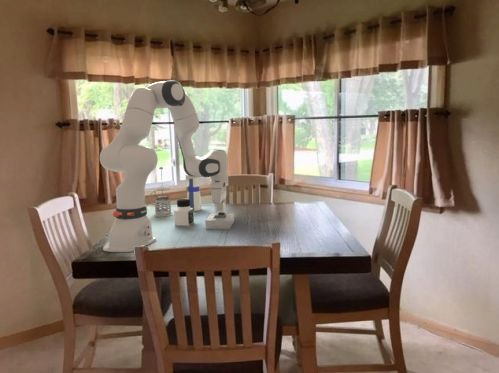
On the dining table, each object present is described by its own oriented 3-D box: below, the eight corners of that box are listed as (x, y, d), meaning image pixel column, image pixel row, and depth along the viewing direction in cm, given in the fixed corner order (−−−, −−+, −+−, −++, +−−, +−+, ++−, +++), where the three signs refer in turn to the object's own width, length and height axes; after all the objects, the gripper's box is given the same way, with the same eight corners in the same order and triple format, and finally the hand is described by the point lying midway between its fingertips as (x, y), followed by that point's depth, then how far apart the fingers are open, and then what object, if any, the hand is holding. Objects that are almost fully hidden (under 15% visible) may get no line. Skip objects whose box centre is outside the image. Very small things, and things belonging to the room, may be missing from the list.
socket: (229, 229, 184) (229, 218, 183) (205, 229, 185) (205, 218, 184) (234, 221, 197) (233, 211, 197) (211, 221, 198) (211, 211, 198)
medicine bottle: (189, 226, 191) (188, 200, 189) (174, 225, 192) (173, 200, 190) (194, 222, 197) (193, 197, 196) (180, 221, 199) (178, 197, 197)
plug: (223, 218, 204) (223, 200, 202) (215, 218, 204) (215, 200, 203) (225, 216, 208) (224, 199, 206) (217, 216, 208) (216, 199, 207)
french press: (170, 216, 210) (168, 167, 206) (148, 216, 210) (145, 168, 206) (174, 212, 220) (172, 165, 216) (153, 212, 220) (150, 166, 216)
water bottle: (183, 210, 224) (181, 164, 220) (190, 207, 232) (188, 163, 228) (197, 211, 221) (195, 164, 217) (203, 208, 229) (202, 163, 225)
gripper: (216, 179, 214) (217, 205, 216) (209, 185, 194) (210, 214, 196) (228, 179, 213) (229, 205, 215) (222, 185, 193) (223, 214, 195)
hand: (220, 209), depth 205 cm, fingers closed on plug, 4 cm apart
